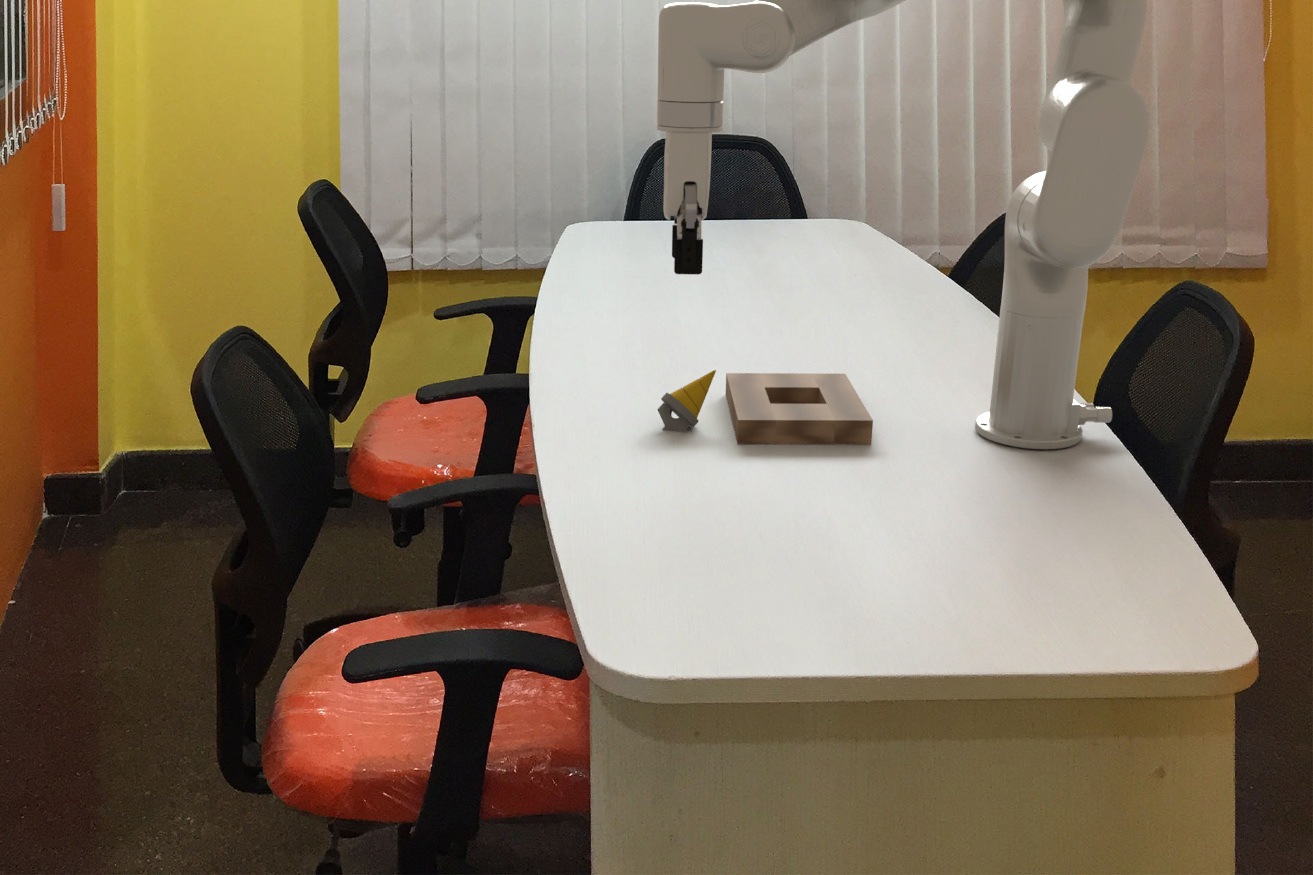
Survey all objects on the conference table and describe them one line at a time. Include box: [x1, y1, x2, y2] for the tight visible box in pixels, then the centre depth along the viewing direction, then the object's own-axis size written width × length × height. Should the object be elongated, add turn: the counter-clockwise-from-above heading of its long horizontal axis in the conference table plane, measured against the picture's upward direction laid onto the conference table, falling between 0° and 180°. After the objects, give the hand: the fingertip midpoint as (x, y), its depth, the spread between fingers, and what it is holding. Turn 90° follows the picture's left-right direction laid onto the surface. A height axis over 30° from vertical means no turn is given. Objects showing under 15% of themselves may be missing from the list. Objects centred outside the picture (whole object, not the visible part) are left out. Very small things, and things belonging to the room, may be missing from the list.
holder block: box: [725, 372, 874, 445], centre depth 152 cm, size 16×20×3 cm
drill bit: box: [656, 370, 717, 433], centre depth 148 cm, size 5×5×10 cm
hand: (686, 265), depth 143 cm, fingers open, 9 cm apart
